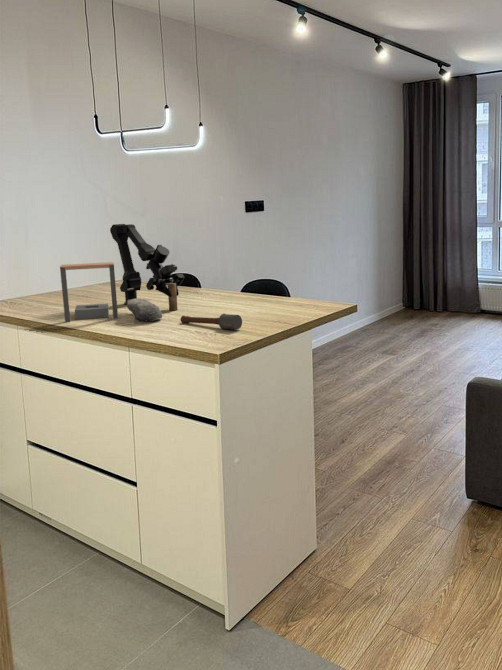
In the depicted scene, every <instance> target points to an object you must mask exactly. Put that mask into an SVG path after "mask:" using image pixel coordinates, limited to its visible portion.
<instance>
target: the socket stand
mask: <svg viewBox="0 0 502 670" xmlns="http://www.w3.org/2000/svg"><path fill="white" fill-rule="evenodd" d="M59 269H60V283H61V291H62V302H63V303H62V304H63V312H64V322H65V323H71V313H70V303H69V294H68V293H69V292H68V282H67V281H68V279H67V271H71V270H72V271H74V270H75V271H76V270H90V269H91V270H92V269H93V270H94V269H109V278H110V279H109V281H110V295H111V305H112V306H111V307H112V318H113V320H114V319H116V320H117V319H119V313H118V312H119V311H118V301H117V286H116V277H115V276H116V275H115V274H116V273H115V262H114V261H112V262H111V261H109V262H108V261H107V262H88V263H86V262H85V263H72V264H71V263H69V264H68V263H67V264H66V263H65V264H61V265H60V266H59ZM109 311H110V309H109V303H93V304H90V303H89V304H79V305H75V309H74V315H75V316H74V317H75V320H85V319H87V320H88V319H101V318H109V313H110V312H109Z"/></svg>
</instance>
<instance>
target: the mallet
mask: <svg viewBox="0 0 502 670" xmlns="http://www.w3.org/2000/svg"><path fill="white" fill-rule="evenodd" d="M180 322H181V323H182V324H193V323H194V324H209V325H218V326H219V328H220V329H221V330H224V329H225V330H239V329H240V328H241V327H242V325H243V319H242V317H241V315H239V314H226V313H221V315H220V316H219V317H198V316H188V315H182V316H181V317H180Z"/></svg>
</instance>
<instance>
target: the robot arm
mask: <svg viewBox="0 0 502 670" xmlns="http://www.w3.org/2000/svg"><path fill="white" fill-rule="evenodd" d="M109 231H110V234H111V238H112V239H113V240H114V242H116V243H117V247H118V251H119V256H120V261H121V263H122V268H123V275H122V283H121V284H120V287H119V291H120V292H122V293H124V298H125V300H124V305H127V301H128V300H131V299H138V295H137V291H141V287H142V277H141V273H140V272H139V271H137V270H136V269H135V265H134V262H133V259H132V254H131V250H130V246H129V243H128V239H130V240H131V242H132V243H133V244H134V247H136V249H137V251H138V252H137V254H138V256H139V258H140V260H141V261H142V262H148V263H146V266H145V267H146V268H145V269H146V270H150V271H151V273H152V274H153V275H152V277H150V278H149V279H148V281H147V282H146V285H145V286H146V287H145V288H147V291H152V290H154V288H155V287H156V288H155V291H158V292H160V293H162V294H164V295H166V296H169V297H171V293H170V291H169V290H168V284H169V283H176V291H177V297H178V296H179V295H180V294H179V293H180V292H179V289H178V288H179V286H181V284H182V283H183V282H184V279H185V278H186V277H185V275H184V274H183V273H178V274H174V275H173V273H175V272H176V271H177V270H178V266H177V264H176V263H171V264H167V265H164V266H163V264H164V263H165V261H166V260H167V258H168V256H169V255H170V253H171V252H170V250H169V248H167V247H165V246H163V245H162V244H157V246H156V248H155V247H154V246H153V245H151V244H148V243H147V242H146V241H145V239H144V238H143V236H142V235H141V234H140V232H139V231H138V230H137V228H136V226H135V224H131V223H130V224H125V223H119V224H112V225H111V227H110V230H109ZM172 276H173V277H172ZM154 286H155V287H154Z"/></svg>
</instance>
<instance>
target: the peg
mask: <svg viewBox="0 0 502 670" xmlns="http://www.w3.org/2000/svg"><path fill="white" fill-rule="evenodd" d="M167 288H168V290H169V291H170V293H171V297H169V296H168V311H178V296H177V291H176V283H168V284H167Z"/></svg>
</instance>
